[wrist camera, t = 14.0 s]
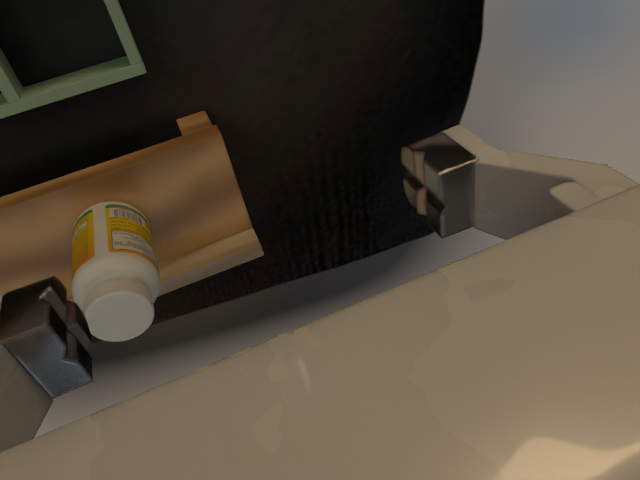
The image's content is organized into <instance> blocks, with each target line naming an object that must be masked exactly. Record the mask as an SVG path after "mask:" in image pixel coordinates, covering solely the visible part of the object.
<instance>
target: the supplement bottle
mask: <svg viewBox="0 0 640 480" xmlns="http://www.w3.org/2000/svg"><path fill="white" fill-rule="evenodd" d="M71 287H72V296H73V299H74V301H75V303H77V304H78V306H79V307H80V309H81V310H82V311H83V314H84V316H85V318H86V320H87V322H88V326H89V329H90V333H91V334H92V335H94V336H95V337H97V338H99V339H101V340H105V341H114V342H115V341H116V342H117V341H125V340H129V339H132V338H134V337H136V336H138V335H140V334H142V333H143V332H144V331H145V330H146V329H147V328H148V327H149V326H150V325H151V323H152V321H153V318H154V306H153V303H154V302H155V300H156V298H157V296H158V294H159V290H160V276H159V271H158V265H157V260H156V256H155V251H154V246H153V240H152V235H151V230H150V226H149V223H148V221H147V219H146V217H145V216H144V215H143V213H142V212H140V211H139V210H138V209H137V208H135V207H133V206H131V205H129V204H127V203H123V202H117V201H108V202H101V203H98V204H95V205H93V206H91V207H89V208H87V209H86V210H85V211H84V212H83V213H82V214H81V215H80V216H79V217H78V218H77V220H76V222H75V224H74V226H73V231H72V286H71Z"/></svg>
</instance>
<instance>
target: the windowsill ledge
mask: <svg viewBox="0 0 640 480" xmlns="http://www.w3.org/2000/svg"><path fill="white" fill-rule="evenodd" d="M177 123H178V126H179V129H180V131H181V134H182V136H180V137H178V138H175V139H172V140H169V141H166V142H163V143H160V144H157V145H154V146H151V147H148V148H145V149H142V150H139V151H136V152H133V153H130V154H127V155H124V156H121V157H118V158H115V159H112V160H109V161H106V162H103V163H101V164H98V165H95V166H92V167H89V168H86V169H83V170H80V171H77V172H74V173H71V174H68V175H65V176H62V177H59V178H56V179H53V180H50V181H47V182H44V183H41V184H38V185H35V186H32V187H29V188H26V189H24V190H21V191H18V192H15V193H12V194H9V195H6V196H3V197H0V294H5V293H6V292H9V291H12V290H15V289H18V288H21V287H23V286H26V285H29V284H32V283H35V282H38V281H41V280H44V279H46V278H49V277H52V276H55V277H57V278H59V280H60V281H61V282H62V284H63V285H64V286H65V287H66V289H67V300H69V301H72V302H74V303H75V301H74V299H73V296H72V287H71V286H72V231H73V226H74V224H75V222H76V220H77V218H78V217H79V216H80V215H81V214H82V213H83V212H84V211H85V210H86V209H87V208H89V207H91V206H93V205H95V204H98V203H101V202H108V201H117V202H123V203H127V204H129V205H131V206H133V207H135V208H137V209H138V210H139V211H140V212H142V213H143V215H144V216H145V217H146V219H147V221H148V223H149V226H150V230H151V235H152V240H153V246H154V251H155V256H156V260H157V265H158V271H159V276H160V290H159V294H158V296H160V295H162V294H165V293H168V292H170V291H173V290H175V289H178V288H180V287H183V286H186V285H188V284H191V283H193V282H196V281H198V280H201V279H204V278H206V277H209V276H211V275H214V274H216V273H219V272H222V271H224V270H227V269H229V268H232V267H234V266H237V265H240V264H242V263H245V262H247V261H250V260H253V259H255V258H258V257H260V256H263V255H264V253H263V250H262V247H261V244H260V242H259V240H258V238H257V236H256V234H255V232H254V230H253V227H252V224H251V221H250V219H249V216H248V213H247V210H246V207H245V204H244V201H243V198H242V195H241V192H240V189H239V186H238V183H237V180H236V177H235V174H234V171H233V168H232V165H231V162H230V159H229V156H228V153H227V150H226V147H225V144H224V141H223V138H222V135H221V133H220V131H219V129H218V127H217V125H213V126H212V124H211V122H210V120H209V118H208V116H207V114H206V112H205V111H201V112H198V113H195V114H192V115H189V116H186V117H183V118H180V119H177ZM82 312H83V311H82Z"/></svg>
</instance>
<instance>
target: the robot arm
mask: <svg viewBox="0 0 640 480" xmlns="http://www.w3.org/2000/svg"><path fill="white" fill-rule="evenodd" d="M401 162H402V164H403V165H404V166H405V167H406V168H407V169H408V170H407V172H406V174H405V176H404V178H403V183H404V191H405V193H406V196H407V199H408V201H409V203H410V205H411V206H412V208H413V209H414V210H415V211H416V212H417V213H418V214H422V215H426V216H427V224H428V225H429V226H430V227H431V228H432V229H433V230H434V231H435V232H436V233H437V234H438V235H439V236H440V237H441V238H444V237H447V236H450V235H453V234H455V233H458V232H461V231H463V230H466V229H469V228H471V227H474V228H475V229H478V230H481V231H483V232H486V233H489V234H492V235H494V236H497V237H500V238H503V239H505V241H503V242H501V243H498V244H496V245H493V246H491V247H489V248H486V249H484V250H481V251H479V252H477V253H474V254H472V255H470V256H467V257H465V258H463V259H460V260H458V261H455V262H453V263H451V264H448V265H446V266H444V267H441V268H439V269H436V270H434V271H431V272H429V273H427V274H424V275H422V276H420V277H417V278H415V279H412V280H410V281H408V282H405V283H403V284H401V285H399V286H396V287H393V288H391V289H389V290H386V291H384V292H382V293H379V294H377V295H374V296H372V297H370V298H367V299H365V300H362V301H360V302H358V303H355V304H353V305H351V306H348V307H346V308H343V309H341V310H339V311H336V312H334V313H332V314H329V315H327V316H324V317H322V318H320V319H317V320H315V321H312V322H310V323H308V324H305V325H303V326H301V327H298V328H296V329H293V330H291V331H289V332H286V333H284V334H282V335H279V336H277V337H274V338H272V339H270V340H267V341H265V342H263V343H260V344H258V345H255V346H253V347H251V348H248V349H246V350H243V351H241V352H239V353H236V354H234V355H231V356H229V357H227V358H224V359H222V360H220V361H217V362H215V363H213V364H210V365H208V366H205V367H203V368H200V369H198V370H196V371H193V372H191V373H189V374H186V375H184V376H182V377H179V378H177V379H174V380H172V381H169V382H167V383H165V384H163V385H160V386H158V387H155V388H153V389H150V390H148V391H146V392H143V393H141V394H138V395H136V396H134V397H132V398H129V399H127V400H124V401H122V402H119V403H117V404H115V405H112V406H110V407H108V408H105V409H103V410H101V411H99V412H96V413H93V414H91V415H89V416H86V417H84V418H82V419H79V420H77V421H74V422H72V423H69V424H67V425H65V426H62V427H60V428H57V429H55V430H53V431H50V432H48V433H46V434H43V435H41V436H38V437H36V438H34V436H35V435H36V433H37V431H38V429H39V427H40V425H41V423H42V421H43V419H44V417H45V416H46V414H47V412H48V410H49V408H50V406H51V404H52V402H53V400H52V399H54V398H56V397H58V396H61V395H63V394H65V393H67V392H70V391H72V390H74V389H77V388H79V387H81V386H83V385H86V384H88V383H90V382H92V381H93V376H92V358H91V356H90V355H89V353H88V352H87V351H86V350H87V348H88V347H89V345H90V344H91V333H90V329H89V326H88V322H87V320H86V318H85V316H84V314H83V312H82V310H81V309H80V307H79V306H78V304H77V303H74V302H72V301H69V300H67V289H66V287H65V286H64V285H63V284H62V282H61V281H60V280H59V278H57V277H55V276H52V277H49V278H46V279H44V280H41V281H38V282H35V283H32V284H29V285H26V286H23V287H21V288H18V289H15V290H12V291H9V292H6V293H5V294H0V480H640V184H639V183H637V182H635V181H634V180H632V179H630V178H628V177H627V176H625V175H623V174H622V173H620V172H618V171H617V170H615V169H613V168H612V167H610V166H608V165H606V164H599V163H592V162H586V161H579V160H572V159H565V158H558V157H552V156H545V155H538V154H530V153H524V152H518V151H510V150H504V151H501V152H500V151H498V150H497V149H495V148H494V147H493V146H491V145H490V144H488V143H487V142H485V141H484V140H483V139H481V138H480V137H478V136H477V135H475V134H474V133H472V132H471V131H469V130H468V129H467V128H465V127H464V126H461V125H457V126H454V127H452V128H449V129H447V130H444V131H442V132H440V133H438V134H435V135H433V136H430V137H428V138H425V139H423V140H420V141H418V142H415V143H412V144H410V145H407V146H405V147H402V151H401ZM33 438H34V439H33Z"/></svg>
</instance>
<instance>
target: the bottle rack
mask: <svg viewBox="0 0 640 480" xmlns="http://www.w3.org/2000/svg"><path fill="white" fill-rule="evenodd" d="M104 2H105V5H106V7H107V9H108V12H109V14H110V17H111V19H112V21H113V24H114V26H115V28H116V31H117V33H118V36H119V38H120V40H121V43H122V45H123V47H124V50H125V52H126V55H127V56H124V57H121V58H117V59H114V60H111V61H107V62H104V63H101V64H98V65H94V66H91V67H88V68H84V69H81V70H78V71H75V72H71V73H68V74H65V75H62V76H58V77H55V78H52V79H48V80H45V81H42V82H39V83H35V84H32V85H29V86H25V87H23V86H22V85H21V83H20V81H19V79H18V78H17V76H16V74H15V72H14V71H13V69H12V67H11V65H10V64H9V62H8V60H7V59H6V57H5V55H4V53H3V52H2V50H1V48H0V90H1V92H2V94H0V119H1V118H4V117H8V116H11V115H14V114H17V113H20V112H24V111H27V110H30V109H33V108H36V107H40V106H43V105H46V104H49V103H52V102H56V101H59V100H62V99H65V98H68V97H71V96H75V95H78V94H81V93H84V92H87V91H91V90H94V89H97V88H100V87H103V86H107V85H110V84H113V83H116V82H119V81H123V80H126V79H129V78H132V77H135V76H139V75H142V74H145V73H147V72H146V69H145V66H144V63H143V60H142V58H141V56H140V53H139V51H138V48H137V46H136V43H135V41H134V38H133V36H132V33H131V31H130V28H129V26H128V23H127V21H126V18H125V16H124V13H123V11H122V9H121V6H120V4H119V1H118V0H104Z"/></svg>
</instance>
